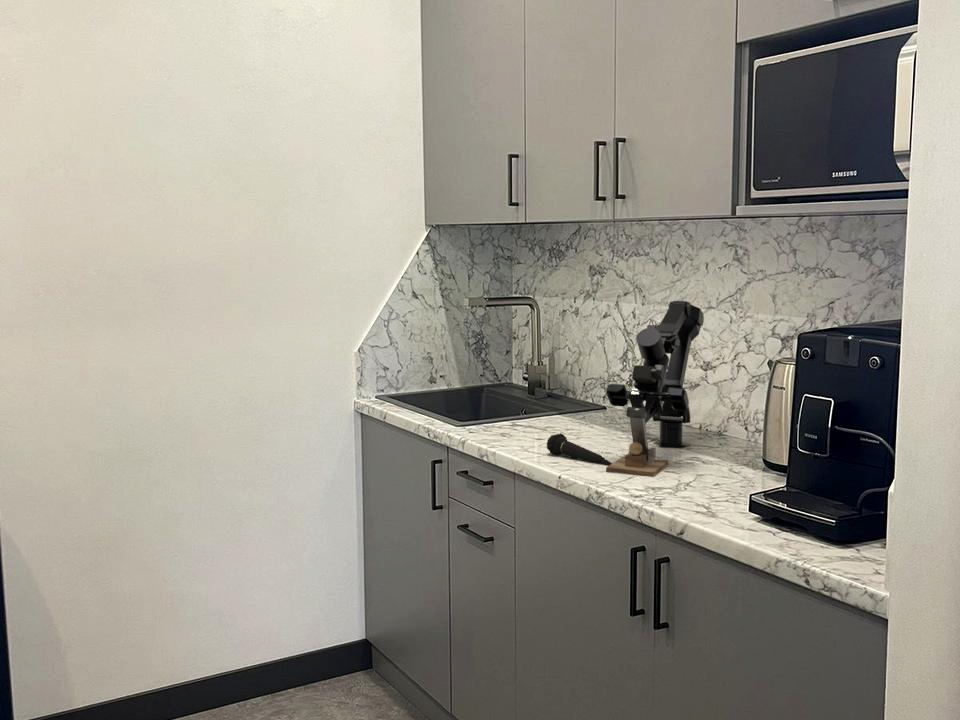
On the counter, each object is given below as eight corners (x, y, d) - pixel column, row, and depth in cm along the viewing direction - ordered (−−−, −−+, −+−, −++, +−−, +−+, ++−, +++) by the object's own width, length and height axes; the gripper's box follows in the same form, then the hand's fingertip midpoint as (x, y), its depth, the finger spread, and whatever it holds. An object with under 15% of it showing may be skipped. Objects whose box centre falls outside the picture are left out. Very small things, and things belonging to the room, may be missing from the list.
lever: (635, 455, 230) (628, 404, 223) (652, 456, 228) (645, 406, 221) (632, 461, 228) (626, 410, 221) (649, 463, 226) (643, 411, 219)
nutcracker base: (623, 460, 233) (623, 433, 232) (668, 464, 228) (669, 437, 227) (606, 471, 221) (606, 443, 221) (653, 476, 217) (653, 448, 216)
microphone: (615, 478, 229) (552, 454, 243) (622, 454, 229) (559, 432, 243) (602, 474, 225) (539, 451, 239) (609, 451, 225) (546, 428, 239)
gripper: (608, 350, 231) (593, 403, 223) (686, 353, 223) (673, 409, 215) (618, 378, 239) (603, 430, 231) (694, 382, 231) (681, 437, 223)
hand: (639, 426), depth 224 cm, fingers closed, pressing on lever
